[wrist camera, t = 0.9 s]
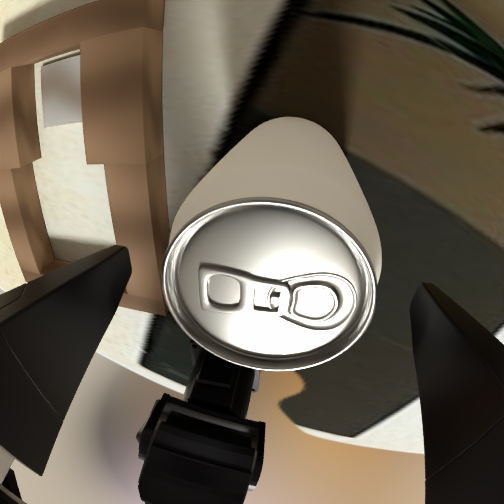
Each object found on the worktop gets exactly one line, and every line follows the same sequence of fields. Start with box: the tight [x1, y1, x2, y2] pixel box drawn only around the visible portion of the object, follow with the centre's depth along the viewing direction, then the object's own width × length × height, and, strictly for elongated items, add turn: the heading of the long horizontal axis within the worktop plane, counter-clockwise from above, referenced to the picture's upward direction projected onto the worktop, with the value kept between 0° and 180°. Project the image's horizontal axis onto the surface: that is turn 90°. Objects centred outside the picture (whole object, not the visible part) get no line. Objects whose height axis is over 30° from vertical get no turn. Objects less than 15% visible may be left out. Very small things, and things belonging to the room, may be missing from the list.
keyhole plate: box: [0, 0, 170, 316], centre depth 19 cm, size 22×16×2 cm
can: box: [161, 117, 382, 371], centre depth 13 cm, size 6×6×12 cm
